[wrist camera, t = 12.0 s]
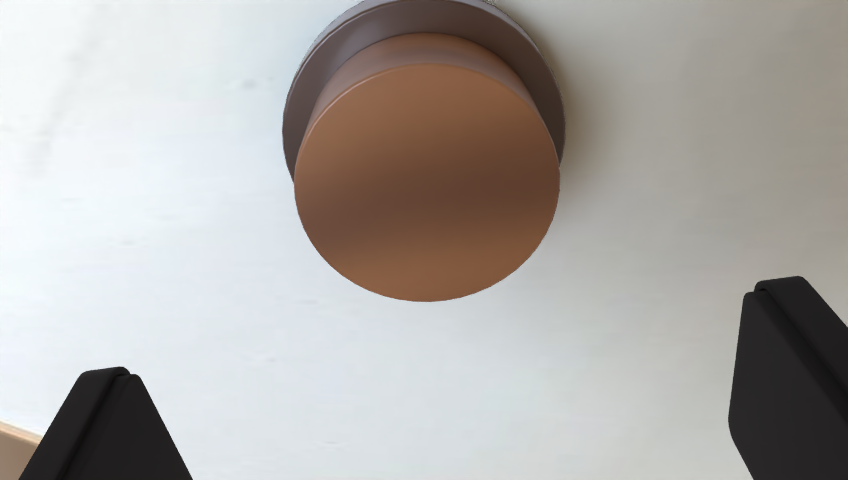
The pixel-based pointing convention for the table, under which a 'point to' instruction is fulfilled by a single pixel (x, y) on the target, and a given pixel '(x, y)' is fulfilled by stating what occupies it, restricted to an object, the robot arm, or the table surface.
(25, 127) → the table surface
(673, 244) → the table surface
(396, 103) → the brown short cylinder
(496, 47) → the walnut chip
